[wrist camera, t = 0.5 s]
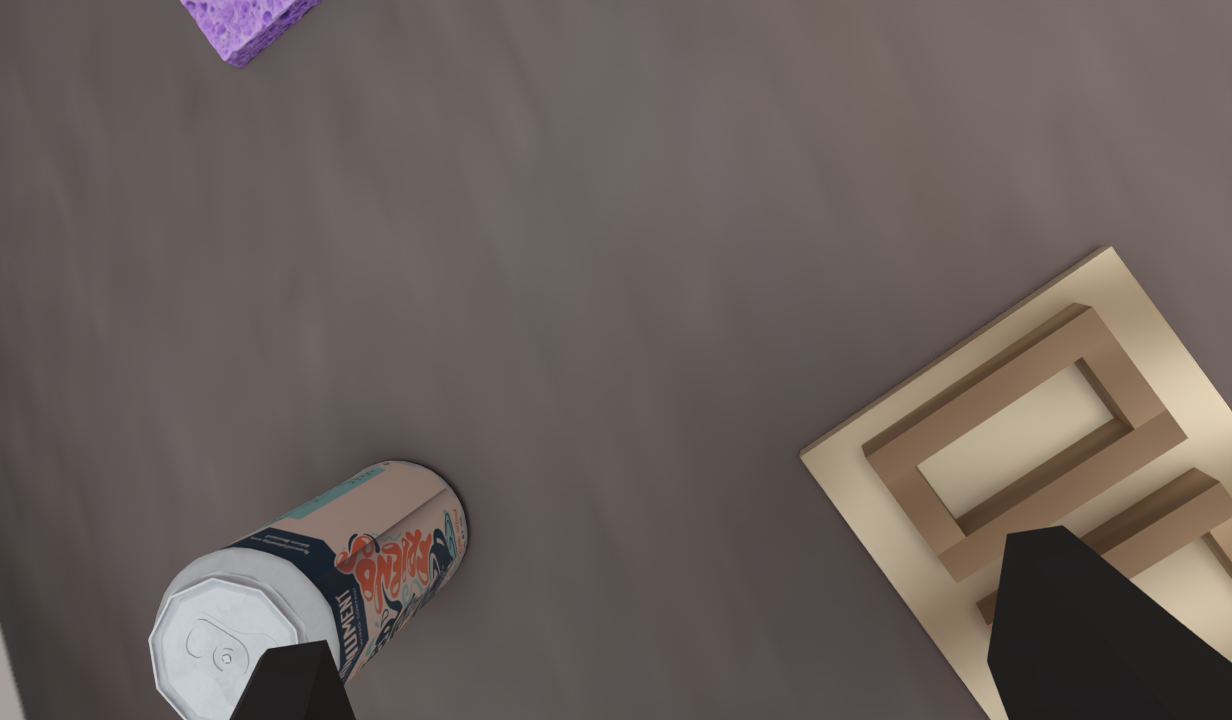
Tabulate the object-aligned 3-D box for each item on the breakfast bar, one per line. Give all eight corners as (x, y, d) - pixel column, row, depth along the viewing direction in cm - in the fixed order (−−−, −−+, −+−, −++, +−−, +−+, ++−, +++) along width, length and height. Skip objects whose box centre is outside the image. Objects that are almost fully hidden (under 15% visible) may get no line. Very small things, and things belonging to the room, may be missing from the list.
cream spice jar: (432, 619, 37) (267, 794, 26) (316, 548, 38) (100, 688, 26) (496, 502, 36) (356, 628, 25) (376, 431, 37) (183, 522, 25)
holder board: (1396, 649, 32) (1456, 690, 30) (1075, 830, 35) (1102, 885, 32) (1101, 246, 33) (1132, 246, 30) (799, 451, 35) (800, 471, 32)
